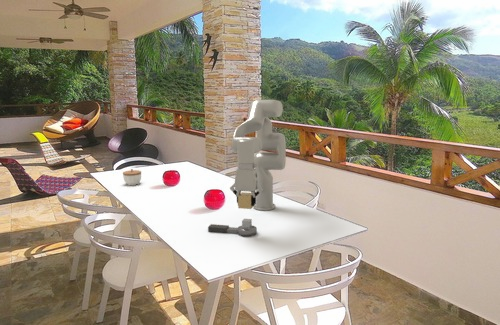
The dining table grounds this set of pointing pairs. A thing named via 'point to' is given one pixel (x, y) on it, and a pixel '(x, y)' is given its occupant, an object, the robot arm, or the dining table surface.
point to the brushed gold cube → (245, 200)
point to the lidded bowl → (132, 177)
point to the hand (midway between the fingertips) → (246, 204)
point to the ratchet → (236, 229)
